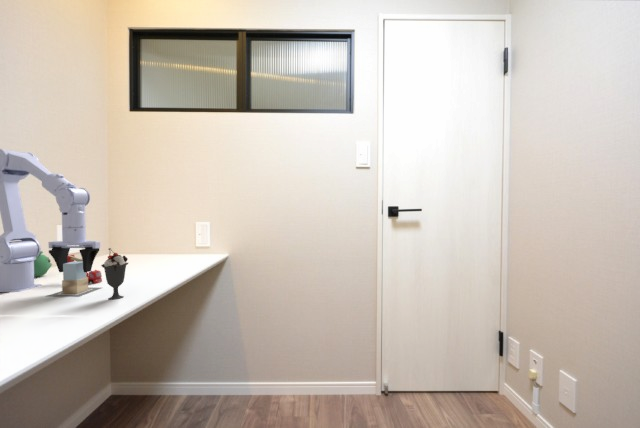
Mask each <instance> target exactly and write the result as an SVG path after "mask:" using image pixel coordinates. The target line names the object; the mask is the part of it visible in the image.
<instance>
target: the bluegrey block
mask: <svg viewBox="0 0 640 428" xmlns="http://www.w3.org/2000/svg"><path fill="white" fill-rule="evenodd" d="M62 274H63V275H62V277H63V278H62V279H63V280H80V279H83V278H86V272H84V271H83V261H73V262H69V263H65V264H63V272H62Z"/></svg>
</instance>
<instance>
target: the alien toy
mask: <svg viewBox="0 0 640 428" xmlns="http://www.w3.org/2000/svg"><path fill="white" fill-rule="evenodd" d="M43 253H44V252H43V250H41V251H40V254H39V255H38V256H37V257H36V260H34V278H39V277H42V276H45V275H46V274H47V273H48V271H49V270H50V268H51V267H52V265H53V264H52V263H51V259H50V257H48V256H47V255H45V254H43Z"/></svg>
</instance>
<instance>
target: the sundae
mask: <svg viewBox="0 0 640 428" xmlns="http://www.w3.org/2000/svg"><path fill="white" fill-rule="evenodd" d="M108 250H109V251H110V252H111V251H112V253H113V254H112V255H111V253H109V255H108V256H107V259H106V260H105V261H104V263H102V264H101V265H100V266H101V267H102V268H104V274H105V279H106V284H107V285H109V286H110V287H111V288H112V289H113V291H112V292H113V293H112V295H111V296H110V297H108V298H107V300H108V301H114V300H121V299H123V298H124V295H121V294H120V293H119V287H120V286H121V285H122V284H123V283H124V281H125V276H126V268H127V265H129V262H127V261H128V260H129V259H128V257H127V256H126V255H121V254H118V252H114V251H113V250H112V247H111V248H108Z"/></svg>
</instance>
